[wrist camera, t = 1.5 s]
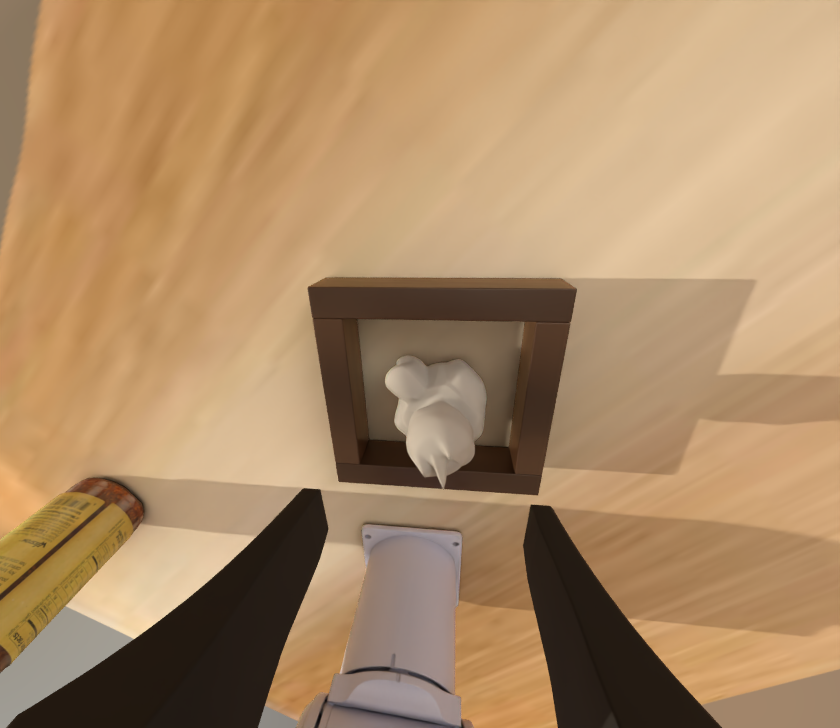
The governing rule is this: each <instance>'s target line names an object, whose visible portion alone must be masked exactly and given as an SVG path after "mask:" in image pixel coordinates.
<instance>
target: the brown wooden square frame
mask: <svg viewBox="0 0 840 728" xmlns="http://www.w3.org/2000/svg"><path fill="white" fill-rule="evenodd" d="M576 292H577V289H576V288H574V287H573V286H571V285H570V284H568V283H567V282H565V281H564V280H562V279H540V278H324V279H322V280H320V281H319V282H317V283H315V284H313V285H311V286H309V287H308V294H309V300H310V306H311V313H312V318H313V324H314V330H315V337H316V343H317V349H318V355H319V362H320V368H321V374H322V380H323V387H324V393H325V399H326V405H327V412H328V418H329V424H330V430H331V437H332V443H333V449H334V455H335V462H336V469H337V475H338V481H339V482H350V483H364V484H379V485H394V486H409V487H423V488H438V489H443V488H442V486H441V484H440V482H439V479H438V477H437V476H433V477H424V476H423V475H422V474H421V472H420V470H419V469H418V467H417V466H416V465H415V463H414V462H413V461H412V459H411V458H410V456H409V454H408V451H407V446H406V442H397V441H379V440H369V433H368V424H367V414H366V404H365V394H364V384H363V374H362V364H361V354H360V344H359V334H358V324H357V319H400V320H459V321H519V322H525V324H524V332H523V340H522V348H521V356H520V364H519V372H518V380H517V388H516V396H515V403H514V411H513V419H512V427H511V435H510V443H509V448H508V447H489V446H475V454H474V457H473V458H472V460H471V461H470V462H469V463H468V464H466V465H464V466H461V467H460V468H459V469H458V470H457V471H455V472H454V473H452V474H450V475H447V476H446V483H445V487H444V489H453V490H468V491H482V492H497V493H512V494H527V495H538V493H539V488H540V483H541V477H542V472H543V466H544V461H545V456H546V450H547V445H548V440H549V435H550V429H551V424H552V419H553V413H554V408H555V403H556V397H557V392H558V387H559V381H560V376H561V371H562V366H563V360H564V355H565V350H566V344H567V339H568V334H569V328H570V322H571V318H572V313H573V308H574V302H575V297H576Z"/></svg>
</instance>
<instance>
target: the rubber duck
mask: <svg viewBox="0 0 840 728" xmlns="http://www.w3.org/2000/svg"><path fill="white" fill-rule="evenodd" d="M385 385H386V387H387V388H388V389H389V390H390V391H391V392H392V393H393V394H394V395H396V396H397V397H398V398H399V401H398V406H397V409H396V413H395V421H394V422H395V426H396V427H397V428H398V429H399V430H400V431H401V432H402V433H403V434H404V435H405V436H407V439H406V446H407V451H408V454H409V456H410V458H411V459H412V461H413V462H414V463H415V465H416V466H417V467H418V469H419V470H420V472H421V474H422V475H423V476H424V477H433V476H437V477H438V479H439V482H440V484H441V486H442V488H443V490H444V487H445V483H446V476H447V475H450V474H452V473H454V472H455V471H457V470H458V469H459V468H460V467H461V466H464V465H466V464H468V463H469V462H470V461H471V460H472V458H473V457H474V454H475V445H474V441H475V440H477V439H478V438H479V437H480V436H481V435H482V432H483V428H484V421H485V406H486V402H487V393H486V389H485V386H484V383H483V381H482V379H481V377H480V376H479V375H478V374H477V373H476V372H475V371H474V370H473V369H472V368H471V367H470V366H469V365H468V364H467V363H466V362H465V361H463V360H460V359H455V360H452V361H449V362H446V363H444V362H439V363H435V364H432V365H429V366H425V364H424V363H423V362H422V361H421V360H420V359H418V358H417V357H414V356H410V355H406V356H402V357H400V358H399V359H398V360H397V362H396V366H394V367H392V368H391V369H390V370H389V371H388V373H387V375H386V378H385Z"/></svg>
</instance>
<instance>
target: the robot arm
mask: <svg viewBox="0 0 840 728" xmlns="http://www.w3.org/2000/svg"><path fill="white" fill-rule="evenodd" d="M327 533H328V524H327V519H326V514H325V510H324V505H323V500H322V495H321V490H320V489H307V488H304V489H302V490H301V491H300V492H299V493H298V494H297V495H296V496H295V498H294V499H293V500H292V501H291V502H290V503H289V504H288V505H287V506H286V507H285V508H284V509H283V510H282V511H281V512H280V513H279V514H278V515H277V516H276V518H275V519H274V520H273V521H272V522H271V523H270V524H269V525H268V526H267V527H266V528H265V529H264V530H263V531H262V532H261V533H260V534H259V535H258V536H257V537H256V538H255V539H254V540H253V541H252V542H251V543H250V544H249V545H248V546H247V547H246V548H245V549H244V550H242V551H241V552H240V553H239V554H238V555H237V556H236V557H235V558H234V559H233V560H232V561H231V562H230V563H228V564H227V565H226V566H225V567H224V568H223V569H222V570H221V571H220V572H219V573H217V574H216V575H215V576H214V577H213V578H212V579H211V580H209V581H208V582H207V583H206V584H205V585H204V586H202V587H201V588H200V589H199V590H198V591H196V592H195V593H194V594H193V595H192V596H190V597H189V598H188V599H187V600H186V601H184V602H183V603H182V604H180V605H179V606H178V607H177V608H175V609H174V610H173V611H171V612H170V613H169V614H168V615H166V616H165V617H164V618H162V619H161V620H160V621H158V622H157V623H156V624H154V625H153V626H152V627H151V628H149V629H148V630H146V631H145V632H144V633H142V634H141V635H140V636H138V637H137V638H135V639H134V640H132V641H131V642H130V643H128V644H127V645H125V646H124V647H122V648H121V649H119V650H118V651H117V652H115V653H114V654H112V655H111V656H109V657H108V658H107V659H105V660H104V661H102V662H101V663H99V664H98V665H96V666H95V667H93V668H92V669H90V670H89V671H87V672H86V673H84V674H83V675H81V676H80V677H78V678H76V679H75V680H73V681H72V682H70V683H68V684H67V685H65V686H64V687H62V688H61V689H59V690H57V691H56V692H54V693H52V694H51V695H49V696H48V697H46V698H44V699H43V700H41V701H40V702H38V703H37V704H35V705H33V706H32V707H30V708H28V709H27V710H25V711H23V712H22V713H20V714H18V715H17V716H16V717H15V719H14V720H13V721H12V722H11V723H10V724H9V725H8V726H7V727H6V728H258V725H259V722H260V719H261V716H262V712H263V709H264V706H265V703H266V700H267V696H268V693H269V690H270V687H271V684H272V681H273V678H274V675H275V672H276V669H277V666H278V662H279V659H280V656H281V653H282V650H283V648H284V645H285V643H286V640H287V637H288V635H289V632H290V630H291V627H292V625H293V623H294V620H295V618H296V615H297V613H298V611H299V608H300V606H301V603H302V601H303V599H304V596H305V594H306V591H307V589H308V587H309V584H310V582H311V579H312V577H313V575H314V572H315V570H316V567H317V565H318V562H319V560H320V556H321V553H322V550H323V547H324V543H325V540H326V536H327ZM361 533H362V540H363V548H364V555H365V563H366V572H365V576H364V580H363V584H362V588H361V592H360V596H359V600H358V604H357V608H356V612H355V616H354V619H353V623H352V627H351V631H350V635H349V639H348V643H347V647H346V651H345V655H344V659H343V663H342V667H341V671H340V674H338V673H335V674H334V677H333V680H332V684H331V688H330V692H329V694H328V693H323V692H321V693H318V694H317V695H316V697H315V698H314V700H312V701H311V702H310V703H309V704H308V705H307V706H306V707H305V709H304V711H303V712H302V714H301V717H300V719H299V721H298V724H297V727H296V728H474V726H473V724H472V722H471V721H469V720H466V719H461V697H460V696H457V695H455V608H456V607H457V606H458V602H459V585H460V568H461V551H462V534H461V533H459V532H457V531H446V530H434V529H421V528H409V527H396V526H384V525H371V524H366V525H363V527H362V530H361ZM523 547H524V556H525V564H526V571H527V578H528V583H529V588H530V592H531V597H532V601H533V605H534V610H535V614H536V618H537V623H538V627H539V631H540V635H541V640H542V644H543V648H544V653H545V657H546V661H547V666H548V671H549V676H550V681H551V686H552V692H553V699H554V705H555V712H556V718H557V724H558V728H722V727H721V726H720V725H719V724H718V723H717V722H716V721H715V720H714V719H713V717H712V716H711V715H710V714H709V713H708V712H707V711H706V710H705V709H704V708H703V707H702V706H701V704H700V703H699V702H698V701H697V700H696V699H695V698H694V697H693V696H692V695H691V694H690V693H689V691H688V690H687V689H686V688H685V687H684V686H683V685H682V684H681V683H680V682H679V681H678V679H677V678H676V677H675V676H674V675H673V674H672V673H671V671H670V670H669V669H668V668H667V667H666V666H665V664H664V663H663V662H662V661H661V660H660V659H659V657H658V656H657V655H656V654H655V653H654V652H653V650H652V649H651V648H650V647H649V646H648V644H647V643H646V642H645V641H644V639H643V638H642V637H641V636H640V635H639V633H638V632H637V631H636V630H635V628H634V627H633V626H632V625H631V623H630V622H629V621H628V619H627V618H626V617H625V616H624V614H623V613H622V612H621V610H620V609H619V608H618V606H617V605H616V604H615V602H614V601H613V600H612V598H611V597H610V596H609V594H608V593H607V592H606V590H605V589H604V587H603V586H602V585H601V583H600V582H599V580H598V579H597V578H596V576H595V575H594V573H593V572H592V570H591V569H590V567H589V566H588V564H587V563H586V561H585V560H584V559H583V557H582V556H581V554H580V552H579V551H578V549H577V548H576V546H575V545H574V543H573V542H572V540H571V538H570V537H569V535H568V534H567V532H566V530H565V529H564V527H563V525H562V524H561V522H560V520H559V519H558V517H557V515H556V513H555V512H554V510H553V508H552V507H551V506H543V505H531V507H530V512H529V517H528V523H527V528H526V533H525V539H524V544H523Z"/></svg>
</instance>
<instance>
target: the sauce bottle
mask: <svg viewBox="0 0 840 728" xmlns="http://www.w3.org/2000/svg"><path fill="white" fill-rule="evenodd" d="M143 513H144V510H143V507H142V503H141V502H140V501H139V500H138V499H137V498H135V497H134V495H132V494H131V493H130V492H129V490H128V489H126V488H125V487H123V486H121V485H119V484H117V483H115V482H112V481H109V480H106V479H102V478H88V479H86V480H82V481H81V482H79V483H77V484H75V485H74V486H73V487H71V488H70V489H69V490H68V491H66V492H65V493H62V494H60V495H58V496H57V497H56V498H54V499H53V500H52V501H50V502H49V503H48V504H46V505H45V506H44V507H42V508H41V509H40V510H38V511H37V512H36V513H35V514H33V515H32V516H31V517H29V518H28V519H27V520H25V521H24V522H23V523H21V524H20V525H19V526H17V527H16V528H15V529H13V530H12V531H11V532H9V533H8V534H7V535H5V536H4V537H3V538H1V539H0V673H1V672H2V671H3V670H4V669H5V668H6V667H8V666H9V665H10V664H11V663H12V662H13V661H14V660H15V659H16V658H17V657H18V656H19V655H20V653H21V652H22V651H23V650H24V649H25V648H26V647H27V646H28V645H29V644H30V643H31V642H32V641H33V640H34V639H35V638H36V636H37V635H38V634H39V633H40V632H41V631H42V630H43V629H44V628H45V627H46V625H48V624H49V623H50V621H51V620H52V619H53V618H54V617H55V616H56V615H57V614H58V613H59V612H60V611H61V610H62V609H63V608H64V607H65V606H66V604H67V603H68V602H69V601H70V600H71V599H72V598H73V597H74V596H75V595H76V594H77V593H78V592H79V591H80V590H81V588H82V587H83V586H84V585H85V584H86V583H87V582H88V581H89V580H90V579H91V578H92V577H93V576H94V575H95V574H96V573H97V572H98V570H99V569H100V568H101V567H102V566H103V565H104V564H105V563H106V562H107V561H108V560H109V559H110V558H111V557H112V556H113V555H114V554H115V553H116V552H117V550H118V549H119V548H120V547H121V546H122V545H123V544H124V543H125V542H126V541H127V540H128V539H129V538H130V536H131V535H132V533H133V532H134V531H135V530H136V529H137V527H138V526H139V525H140V523H141V521H142V518H143Z"/></svg>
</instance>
